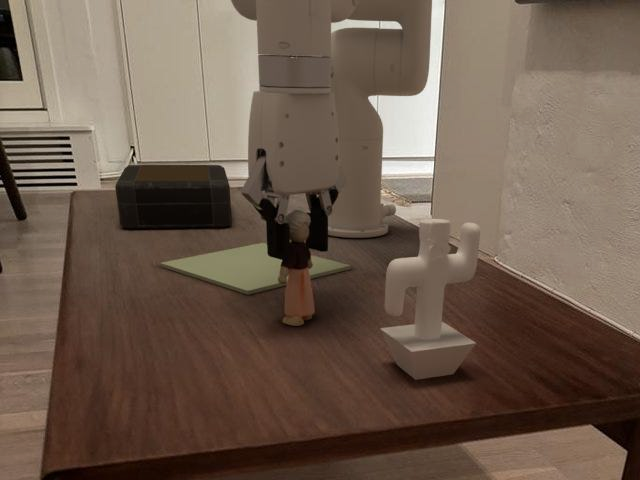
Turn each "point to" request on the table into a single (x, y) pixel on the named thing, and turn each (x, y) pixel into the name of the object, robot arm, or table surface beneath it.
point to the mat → (245, 268)
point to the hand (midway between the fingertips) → (298, 252)
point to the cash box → (173, 197)
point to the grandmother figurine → (297, 271)
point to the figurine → (430, 300)
